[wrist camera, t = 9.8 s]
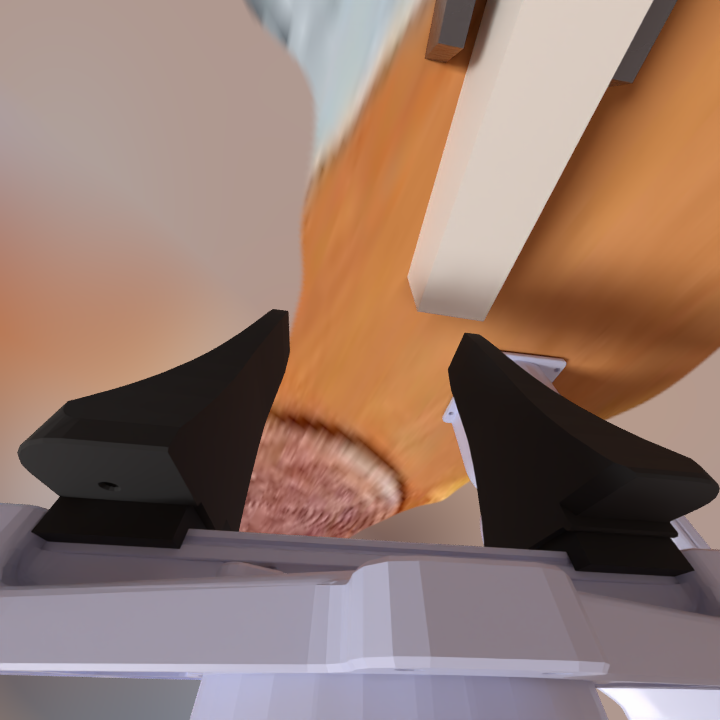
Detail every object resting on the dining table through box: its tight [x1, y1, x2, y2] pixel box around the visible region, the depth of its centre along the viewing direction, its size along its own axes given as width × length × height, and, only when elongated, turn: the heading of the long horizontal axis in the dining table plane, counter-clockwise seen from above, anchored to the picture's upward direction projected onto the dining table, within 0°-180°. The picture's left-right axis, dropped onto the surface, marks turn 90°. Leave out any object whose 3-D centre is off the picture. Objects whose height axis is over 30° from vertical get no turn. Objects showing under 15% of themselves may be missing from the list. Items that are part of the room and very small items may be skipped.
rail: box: [408, 0, 653, 321], centre depth 13 cm, size 16×4×5 cm, turn 171°
